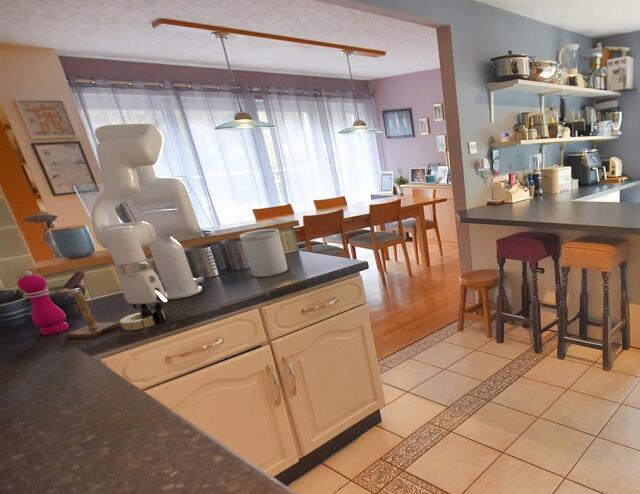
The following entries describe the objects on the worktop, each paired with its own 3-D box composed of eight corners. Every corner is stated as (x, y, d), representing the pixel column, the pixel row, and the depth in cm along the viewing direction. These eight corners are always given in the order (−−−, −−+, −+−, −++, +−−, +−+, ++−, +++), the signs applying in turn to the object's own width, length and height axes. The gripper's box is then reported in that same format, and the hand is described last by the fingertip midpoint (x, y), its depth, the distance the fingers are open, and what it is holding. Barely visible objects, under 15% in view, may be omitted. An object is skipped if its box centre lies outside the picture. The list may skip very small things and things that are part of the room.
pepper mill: (51, 336, 134) (20, 274, 127) (33, 335, 136) (1, 274, 128) (77, 326, 141) (49, 267, 133) (60, 326, 142) (31, 267, 135)
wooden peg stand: (96, 325, 140) (78, 287, 135) (121, 325, 139) (104, 286, 134) (67, 338, 132) (47, 297, 127) (93, 337, 131) (74, 296, 126)
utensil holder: (262, 279, 179) (250, 237, 173) (244, 275, 187) (232, 234, 181) (295, 269, 191) (285, 229, 184) (277, 266, 198) (266, 227, 192)
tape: (143, 316, 145) (140, 310, 145) (173, 316, 144) (170, 309, 143) (113, 330, 136) (110, 323, 135) (144, 329, 134) (141, 322, 134)
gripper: (167, 263, 135) (187, 317, 142) (120, 265, 137) (142, 318, 144) (147, 270, 128) (169, 327, 135) (97, 272, 130) (121, 328, 137)
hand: (155, 322), depth 139 cm, fingers closed on tape, 2 cm apart
